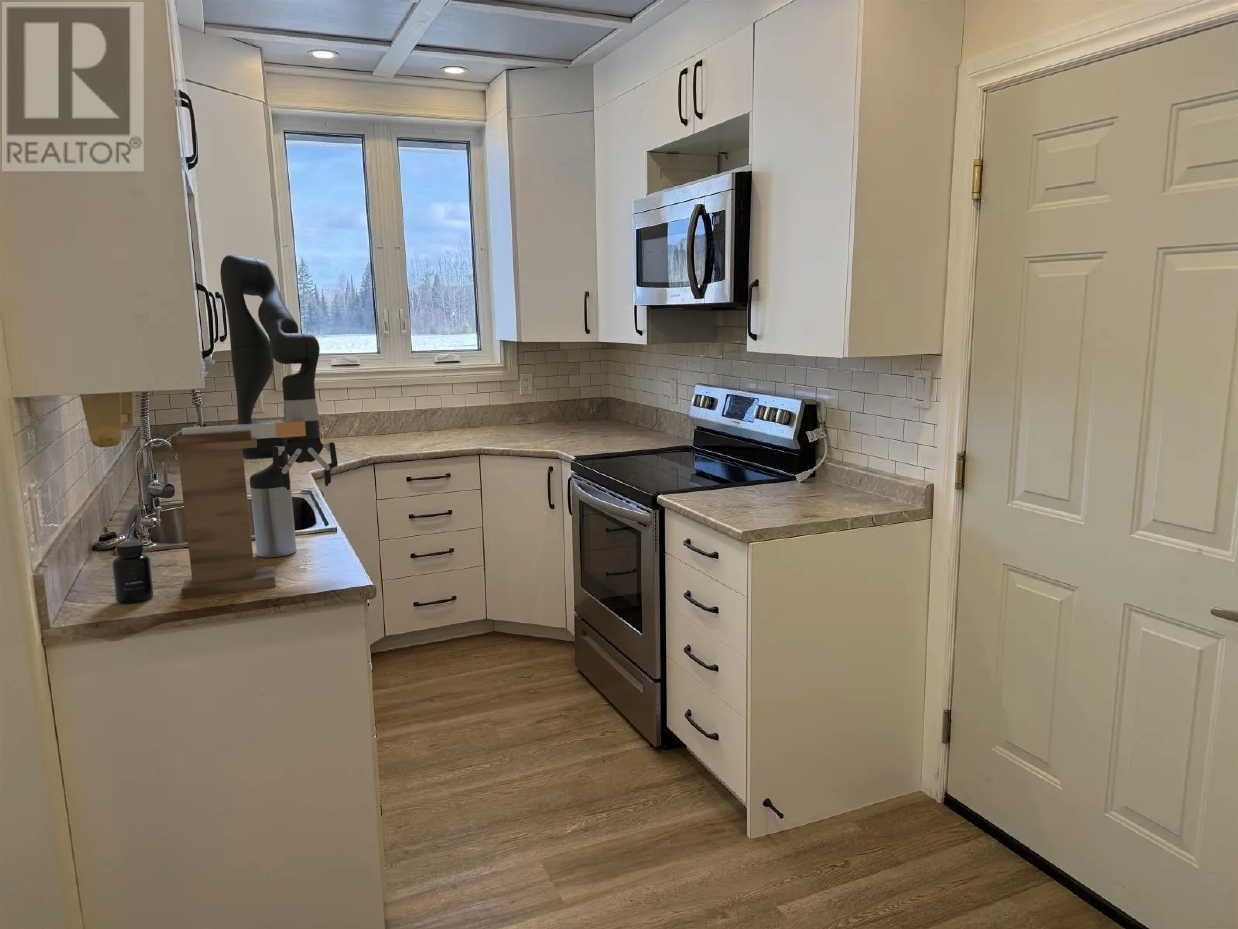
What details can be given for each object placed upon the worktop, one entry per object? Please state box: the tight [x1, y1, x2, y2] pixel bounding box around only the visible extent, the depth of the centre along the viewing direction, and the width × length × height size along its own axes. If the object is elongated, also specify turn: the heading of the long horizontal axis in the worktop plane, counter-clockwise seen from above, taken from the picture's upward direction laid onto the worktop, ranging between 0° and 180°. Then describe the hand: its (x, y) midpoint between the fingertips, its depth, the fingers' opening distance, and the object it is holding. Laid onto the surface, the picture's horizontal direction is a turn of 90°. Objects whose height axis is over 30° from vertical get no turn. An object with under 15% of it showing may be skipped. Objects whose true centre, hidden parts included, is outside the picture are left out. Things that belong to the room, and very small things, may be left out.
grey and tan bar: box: [181, 420, 306, 439], centre depth 178 cm, size 3×24×3 cm, turn 114°
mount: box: [170, 431, 276, 600], centre depth 178 cm, size 10×18×34 cm, turn 114°
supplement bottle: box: [111, 541, 154, 605], centre depth 172 cm, size 7×7×12 cm
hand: (307, 487), depth 196 cm, fingers open, 8 cm apart
